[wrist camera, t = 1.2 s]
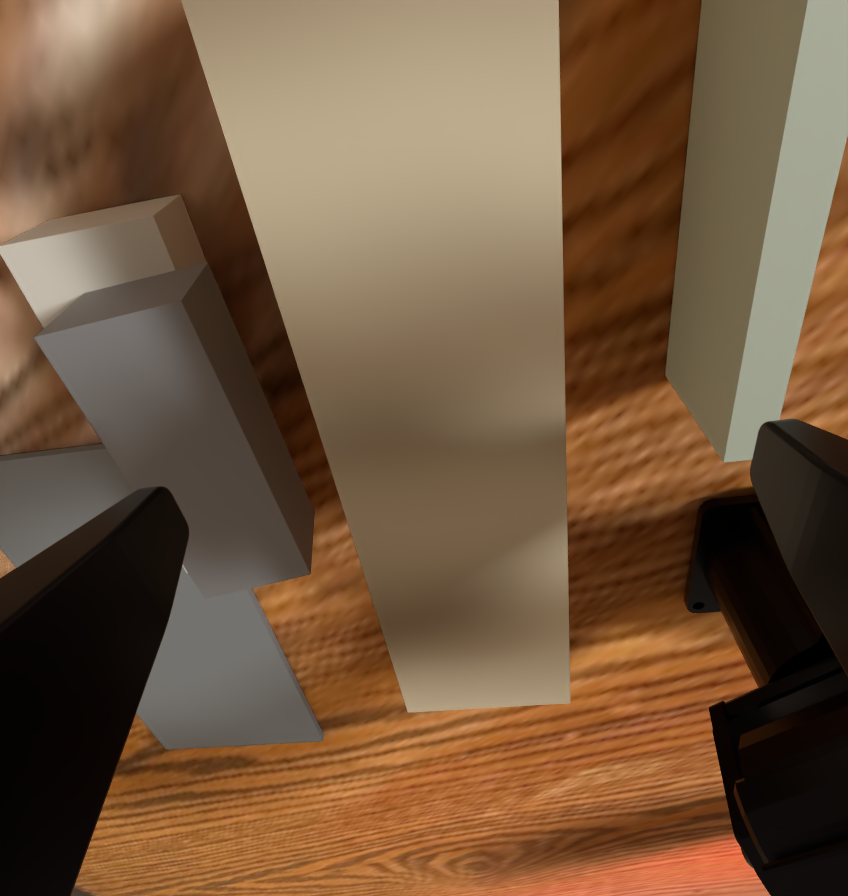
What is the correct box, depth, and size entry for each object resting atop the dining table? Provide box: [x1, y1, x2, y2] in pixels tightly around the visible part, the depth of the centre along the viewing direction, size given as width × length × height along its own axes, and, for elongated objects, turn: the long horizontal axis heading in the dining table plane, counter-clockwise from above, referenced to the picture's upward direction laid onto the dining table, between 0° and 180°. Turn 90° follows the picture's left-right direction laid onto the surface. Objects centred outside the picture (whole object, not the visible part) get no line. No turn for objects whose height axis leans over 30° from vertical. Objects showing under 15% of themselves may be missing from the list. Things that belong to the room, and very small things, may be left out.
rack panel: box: [665, 0, 848, 462], centre depth 14 cm, size 12×1×5 cm, turn 9°
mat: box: [0, 444, 324, 750], centre depth 28 cm, size 22×10×1 cm, turn 9°
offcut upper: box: [34, 262, 315, 599], centre depth 16 cm, size 9×3×3 cm, turn 12°
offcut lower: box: [0, 194, 207, 573], centre depth 19 cm, size 12×4×3 cm, turn 9°
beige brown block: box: [181, 0, 570, 713], centre depth 13 cm, size 16×4×10 cm, turn 9°
